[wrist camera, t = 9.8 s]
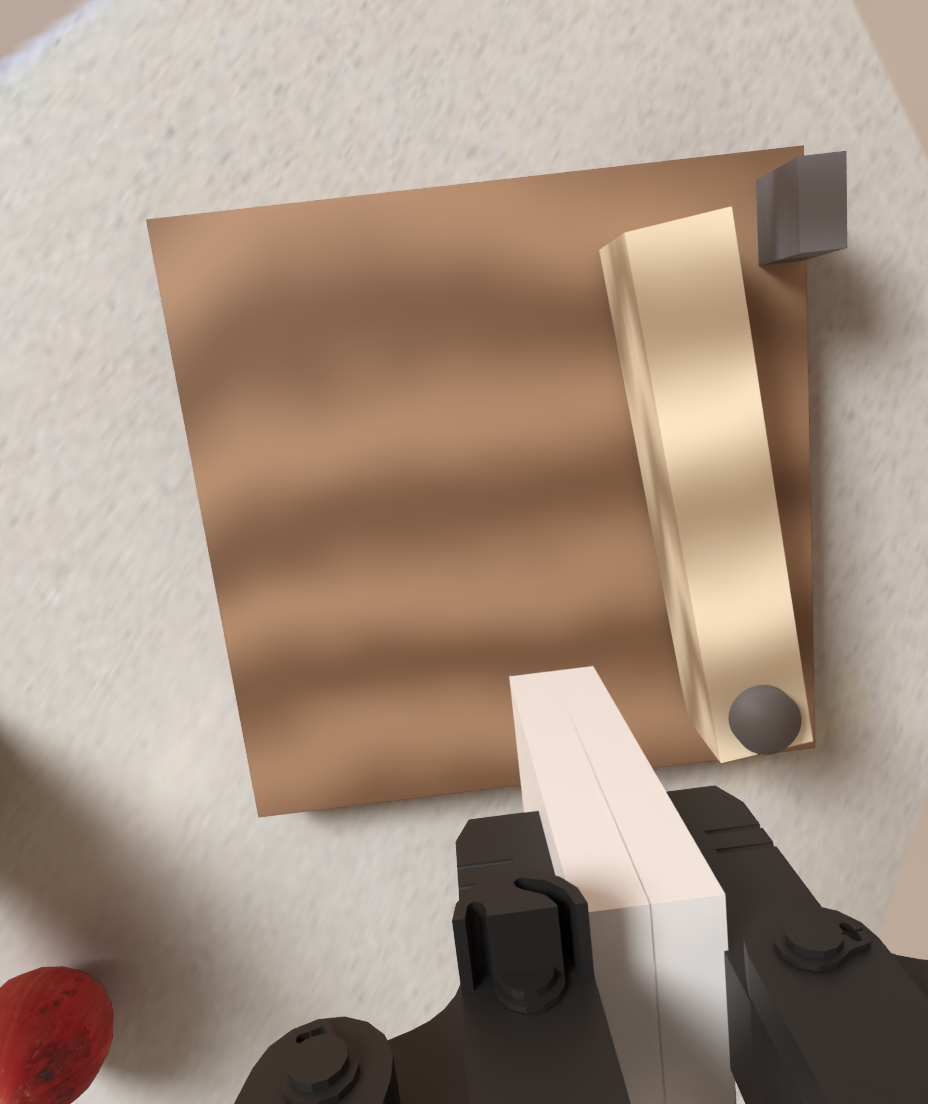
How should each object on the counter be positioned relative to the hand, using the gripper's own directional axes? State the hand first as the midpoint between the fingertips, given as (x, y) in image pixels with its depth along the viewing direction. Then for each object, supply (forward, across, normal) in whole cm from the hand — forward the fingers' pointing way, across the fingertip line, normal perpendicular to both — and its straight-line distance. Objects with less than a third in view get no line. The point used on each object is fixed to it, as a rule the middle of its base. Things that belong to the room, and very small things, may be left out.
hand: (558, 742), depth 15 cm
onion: (+22, -22, -20) cm, 37 cm away
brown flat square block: (+21, +1, +1) cm, 21 cm away
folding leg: (+18, +8, +1) cm, 20 cm away
